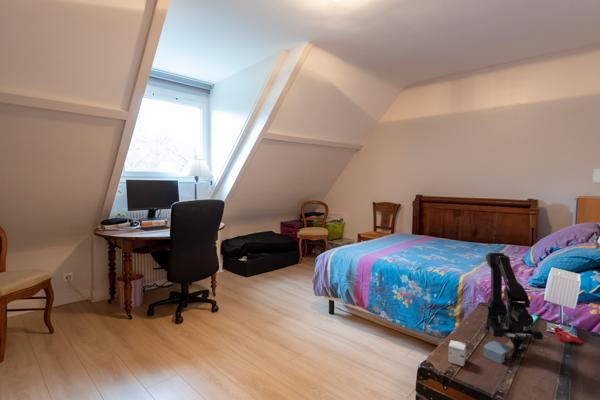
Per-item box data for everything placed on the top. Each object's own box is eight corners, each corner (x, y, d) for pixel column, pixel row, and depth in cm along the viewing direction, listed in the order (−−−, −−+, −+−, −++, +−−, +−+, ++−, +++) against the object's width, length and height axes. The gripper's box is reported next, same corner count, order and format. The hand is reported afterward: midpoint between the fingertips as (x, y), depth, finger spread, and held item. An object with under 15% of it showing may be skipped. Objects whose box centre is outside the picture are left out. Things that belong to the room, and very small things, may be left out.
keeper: (480, 354, 138) (480, 345, 137) (490, 348, 142) (490, 339, 142) (500, 363, 131) (501, 354, 130) (511, 357, 135) (511, 347, 135)
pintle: (502, 344, 146) (502, 336, 145) (509, 340, 149) (510, 332, 149) (519, 351, 140) (519, 343, 139) (526, 346, 143) (526, 338, 143)
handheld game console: (538, 318, 172) (538, 316, 172) (530, 328, 161) (530, 325, 161) (517, 313, 179) (517, 310, 179) (508, 321, 169) (508, 319, 169)
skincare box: (448, 362, 133) (448, 345, 132) (450, 355, 138) (450, 339, 137) (464, 366, 129) (464, 349, 129) (465, 359, 134) (466, 343, 134)
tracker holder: (586, 339, 147) (578, 340, 141) (582, 347, 147) (574, 349, 142) (556, 323, 157) (548, 324, 152) (552, 331, 157) (544, 332, 152)
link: (510, 340, 148) (510, 336, 147) (521, 344, 144) (521, 339, 144) (498, 355, 135) (498, 351, 135) (509, 360, 132) (510, 355, 132)
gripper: (531, 309, 142) (531, 343, 142) (485, 307, 146) (485, 340, 147) (543, 320, 131) (544, 356, 132) (493, 318, 135) (494, 353, 136)
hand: (515, 351), depth 137 cm, fingers closed
